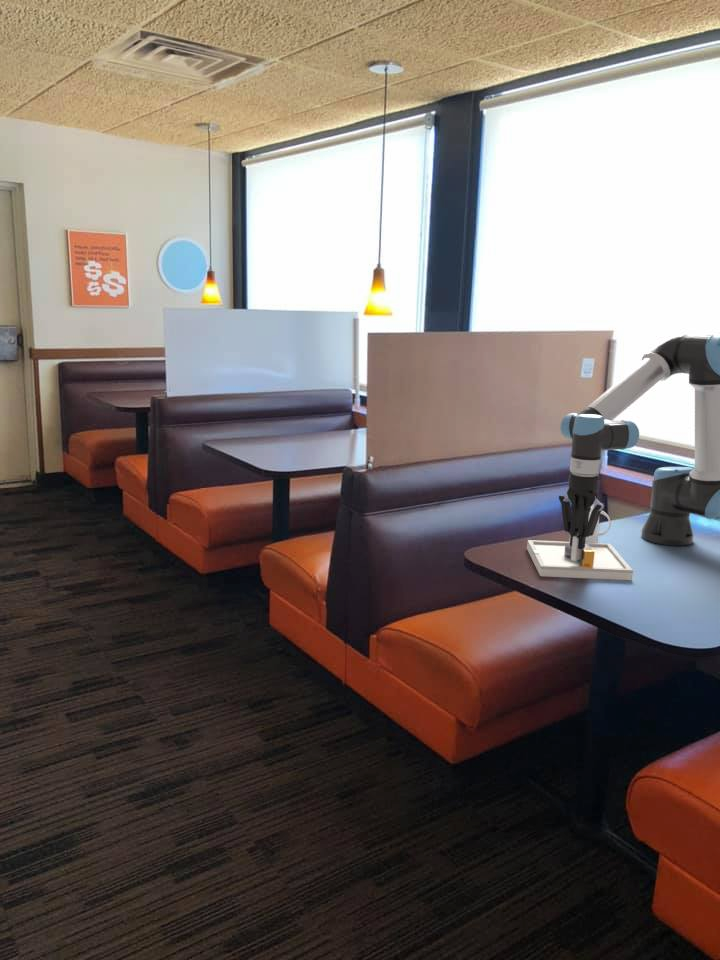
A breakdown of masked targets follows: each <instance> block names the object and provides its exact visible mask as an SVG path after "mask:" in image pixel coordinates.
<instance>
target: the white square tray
mask: <svg viewBox="0 0 720 960" xmlns="http://www.w3.org/2000/svg"><path fill="white" fill-rule="evenodd" d="M526 543H527V544H526V545H527V546H526V549H527V552H528V554H529V557H530V558H531V560H532V562H533V564H534V566H535V568H536V570H537V573H538V574H539V576H540V577H546V578H547V577H551V578H570V579H571V578H574V579H591V580H592V579H595V580H611V581H612V580H613V581H614V580H615V581H616V580H617V581H618V580H620V581H633V577H634V576H633V575H634V574H633V573H634V570H633V568H632V567H631V566H630V565H629V564H628V563H627V561H626V560H625V559H624V558H623V557H622V555H620V554H619V552H618V551H617V550H616V549H615V548H614V546H613V545H612V544H611V543H605V542H598V543H586V542H585V544H587V545H588V546H589V547H591V548H592V549H593V550H594V551H595V553H594V564H593V567H591V566H582V565H581V564H580V563H579V562H578V561H574V560H571V558H569V557H567V556H565V555H564V552H565V546H567V545H570V541H562V540H561V541H559V540H558V541H557V540H540V539H539V540H538V539H537V540H535V539H533V540H532V539H527V542H526Z"/></svg>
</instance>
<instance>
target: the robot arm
mask: <svg viewBox="0 0 720 960" xmlns="http://www.w3.org/2000/svg"><path fill="white" fill-rule="evenodd" d="M676 374H688V384H689V385H690V386H691V387H693V388H694V467H691V466H690V467H689V466H663V467H658V468H656V469H655V471H654V474H653V478H652V479H653V480H652V484H651V496H650V507H649V513H648V516H647V518H646V520H645V522H644V525H643V526H642V528H641V538H642V539H643V540H645V541H648V542H651V543H654V544H658V545H663V546H671V547H672V546H673V547H675V546H676V547H679V546H681V547H683V546H689V545H691V544H693V541H694V533H693V528H692V524H691V518H690V516H691V515H695V516H699V517H702V518H705V519H707V520H714V521H719V522H720V332H716V333H715V332H688V331H687V332H681V333H678V334H675V335H672V336H670V337H668V338H666V339H664V340H663V341H660V342H659V343H657V345H654V346H653V347H651V349H650V350H647V352H646V353H645V354H644V355H643V356H642V357H641V361H640V362H639V363H637V365H636V366H634V367H633V368H631V370H630V371H628V372H627V373H626V374H625V375H623V376H622V377H621V378H620V379H618V381H616V382H615V383H614V384H613V385H612V386H610V387H609V388H608V389H607V390H605V391H604V392H603V393H602V394H601V395H599V396H598V397H597V398H596V399H595V400H593V402H591V403H590V404H589V405H588V406H586V407H585V408H584V409H583V410H582V411H580V412H579V413H577V412H571V413H568V414H565V416H564V417H563V418H562V419H561V422H560V432H561V435H562V436H563V437H564V438H566V439H567V440H571V453H570V463H569V464H570V465H569V471H570V473H569V475H568V482H567V484H568V489H567V491H566V493H564V494H561V495H558V501H559V503H560V505H561V511H562V512H561V513H562V522H563V523H562V524H563V529H564V532H567V533H568V534H569V538H570V541H569V542H570V546H571V547H572V551H571V560H574V561H577V560H580V559H581V554H582V549H584V547H585V540H586V537H589V536H592V535H593V533H594V530H595V527H596V525H597V522H598V519H599V520H600V517H599V516H600V515H601V514H600V513H601V511H604V509H605V508H606V504H605V503H603V502H602V503H601V501H600V500H599V498H598V494H597V492H598V488H599V480H600V479H599V478H600V476H599V474H600V471H601V469H600V468H601V459H602V452H603V451H611V450H612V451H613V450H614V451H615V450H624V451H625V450H628V449H631V448H634V447H635V446H636V445H637V444H638V442H639V440H640V430H639V427H638V425H637V424H636V423H634V422H633V421H631V420H615V419H616V418H617V417H618V416H619V415H621V414H622V413H623V412H625V410H627V409H629V407H631V406H632V405H633V404H634V403H635V402H636V401H637V400H638V399H640V398H641V397H642V396H644V395H645V393H646V392H648V391H649V390H650V389H652V387H654V386H655V385H656V384H657V383H659V382H660V381H661V382H663V381H666V380H667V379H669V378H670V377H671V376H673V375H676ZM593 504H594V506H593V508H594V509H593V510H592V513H591V515H590V518H589V512H590V510H591V506H592V505H593ZM588 520H589V521H588ZM577 534H578V535H577Z"/></svg>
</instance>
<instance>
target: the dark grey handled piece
mask: <svg viewBox="0 0 720 960" xmlns="http://www.w3.org/2000/svg"><path fill="white" fill-rule="evenodd" d="M571 551H572V547H571V546H570V545H567V546H565V552H564V555H565V556H567V557H569V558H571ZM594 553H595V551H594V550H593V549H592V548H591V547H589V546H588V545H587V544H585V547H584V549H582V554H581V559H580V560H577V561H578V562H579V563H580V564H581V565H582V566H591V567H593V564H594Z"/></svg>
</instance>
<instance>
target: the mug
mask: <svg viewBox="0 0 720 960" xmlns="http://www.w3.org/2000/svg"><path fill="white" fill-rule="evenodd" d="M593 506H594V504H593V505H592V506H591V510H590V512H589V518H590V515H591V513H592V510H593V509H594V508H593ZM600 515H603V516H605V517H606V518H607V521H608V527H607V529H606V530H604V531H602V532H599V525H600V516H599V519H598V522H597V525H596V527H595V530H594V533H593V535H592V536H589V537H586V540H585V542H586V543H599V540H598V537H600V536H603V535H605V534H606V535H607V533H608V532H609V530H610V528H611V525H612V523H611V522H612V521H611V518H610V516H609V515H608V513H606V512H605V511H604V510H602V511H601V513H600ZM588 521H589V520H588ZM577 535H578V534H577ZM568 542H570V537H569V538H568Z"/></svg>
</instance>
